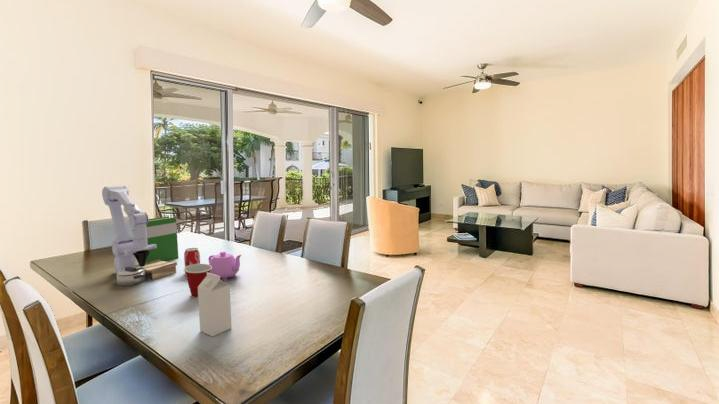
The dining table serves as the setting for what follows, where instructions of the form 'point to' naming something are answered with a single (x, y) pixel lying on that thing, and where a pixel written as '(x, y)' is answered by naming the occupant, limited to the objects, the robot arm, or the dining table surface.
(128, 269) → the lid
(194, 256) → the soda can
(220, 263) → the teapot
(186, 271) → the plastic cup
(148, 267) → the lid rest
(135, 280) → the cooker
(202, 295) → the milk carton
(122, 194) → the robot arm
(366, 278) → the dining table surface
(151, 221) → the hardback book
